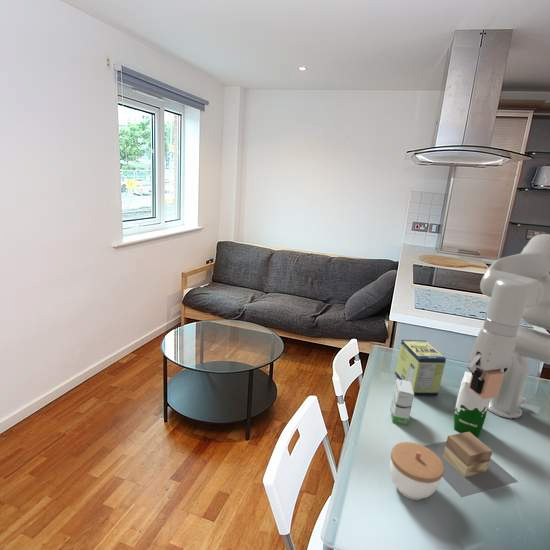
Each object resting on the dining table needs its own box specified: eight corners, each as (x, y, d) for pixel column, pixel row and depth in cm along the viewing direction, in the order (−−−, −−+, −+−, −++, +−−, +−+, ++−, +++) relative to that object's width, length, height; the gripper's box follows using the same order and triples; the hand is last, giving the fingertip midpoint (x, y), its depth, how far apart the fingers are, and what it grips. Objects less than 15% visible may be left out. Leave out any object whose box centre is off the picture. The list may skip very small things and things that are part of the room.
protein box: (417, 374, 157) (425, 339, 153) (438, 396, 142) (447, 358, 138) (394, 374, 155) (401, 339, 151) (412, 396, 140) (420, 358, 136)
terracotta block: (482, 386, 105) (488, 363, 104) (497, 396, 101) (504, 373, 99) (468, 388, 104) (474, 365, 102) (483, 399, 99) (490, 375, 97)
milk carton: (450, 431, 123) (465, 376, 117) (451, 416, 131) (464, 363, 125) (481, 441, 119) (497, 384, 114) (479, 425, 127) (494, 371, 122)
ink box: (407, 426, 123) (415, 394, 120) (392, 423, 124) (398, 391, 120) (404, 411, 131) (411, 380, 128) (389, 408, 132) (396, 377, 129)
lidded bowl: (431, 518, 90) (441, 480, 87) (379, 492, 96) (386, 455, 93) (440, 484, 101) (449, 449, 98) (392, 462, 107) (399, 429, 104)
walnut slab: (466, 441, 112) (469, 431, 111) (489, 461, 105) (492, 450, 104) (445, 446, 110) (447, 435, 109) (467, 466, 102) (470, 455, 101)
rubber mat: (465, 438, 120) (466, 437, 120) (517, 482, 104) (518, 481, 104) (414, 448, 113) (414, 447, 113) (461, 498, 97) (461, 496, 97)
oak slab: (463, 451, 113) (466, 441, 112) (486, 471, 106) (489, 461, 105) (442, 456, 111) (445, 446, 110) (464, 477, 103) (467, 466, 102)
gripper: (511, 319, 103) (495, 379, 108) (463, 322, 98) (448, 385, 103) (538, 331, 97) (519, 394, 102) (487, 335, 91) (470, 401, 96)
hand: (483, 389), depth 102 cm, fingers closed on terracotta block, 5 cm apart
